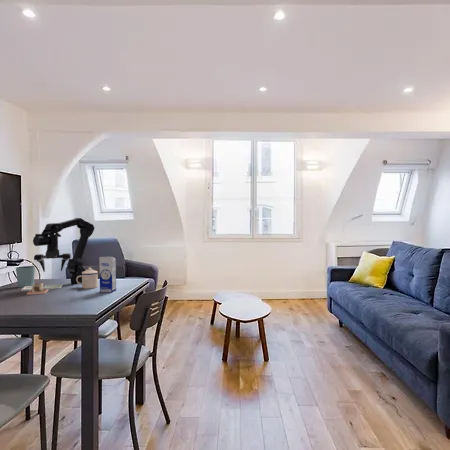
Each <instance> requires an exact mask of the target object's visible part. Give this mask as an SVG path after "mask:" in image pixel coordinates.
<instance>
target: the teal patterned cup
mask: <svg viewBox="0 0 450 450" xmlns="http://www.w3.org/2000/svg"><path fill="white" fill-rule="evenodd" d="M35 271H36V266H35V265H24V266H16V267H15V272H16V281H17V283H16V284H17V288H24V287H25V286H32V285H33V284H35Z"/></svg>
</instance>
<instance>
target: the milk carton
mask: <svg viewBox="0 0 450 450" xmlns="http://www.w3.org/2000/svg"><path fill="white" fill-rule="evenodd" d="M98 261H99V293H102V294H103V293H104V294H105V293H108V294H109V293H111V294H112V293H114V292H116V291H117V258H115V257H114V256H112V255H106V256H99V259H98Z"/></svg>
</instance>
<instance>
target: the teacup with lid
mask: <svg viewBox="0 0 450 450" xmlns="http://www.w3.org/2000/svg"><path fill="white" fill-rule="evenodd" d="M85 270H86V271H84V272H82V276H78V277H82V283H80V282H78V280H77V279H78V277H77V278H76V281H77V283H79V284H78V285H81V287H82V289H85V290H86V289H87V290H91V289H96V288H97V287H98V285H99V282H98V280H99V279H98V278H99V276H98V273H99V272H98V271H97V270H94V268H93V269H92V267H88V268H87V269H85Z"/></svg>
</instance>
